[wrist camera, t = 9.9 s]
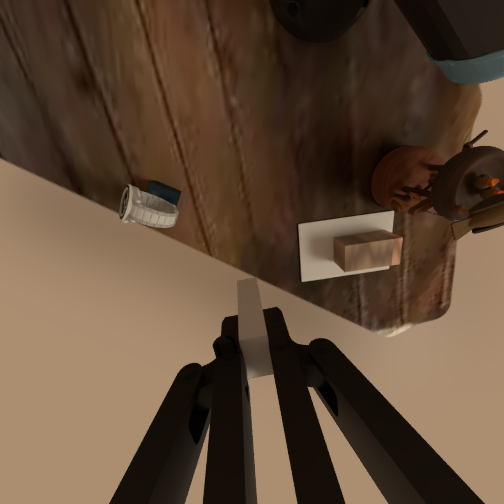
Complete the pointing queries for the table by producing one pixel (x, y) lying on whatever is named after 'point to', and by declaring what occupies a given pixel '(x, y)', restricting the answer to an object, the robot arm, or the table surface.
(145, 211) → the watch
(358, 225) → the mat
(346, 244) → the walnut block
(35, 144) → the table surface
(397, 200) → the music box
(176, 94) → the table surface
